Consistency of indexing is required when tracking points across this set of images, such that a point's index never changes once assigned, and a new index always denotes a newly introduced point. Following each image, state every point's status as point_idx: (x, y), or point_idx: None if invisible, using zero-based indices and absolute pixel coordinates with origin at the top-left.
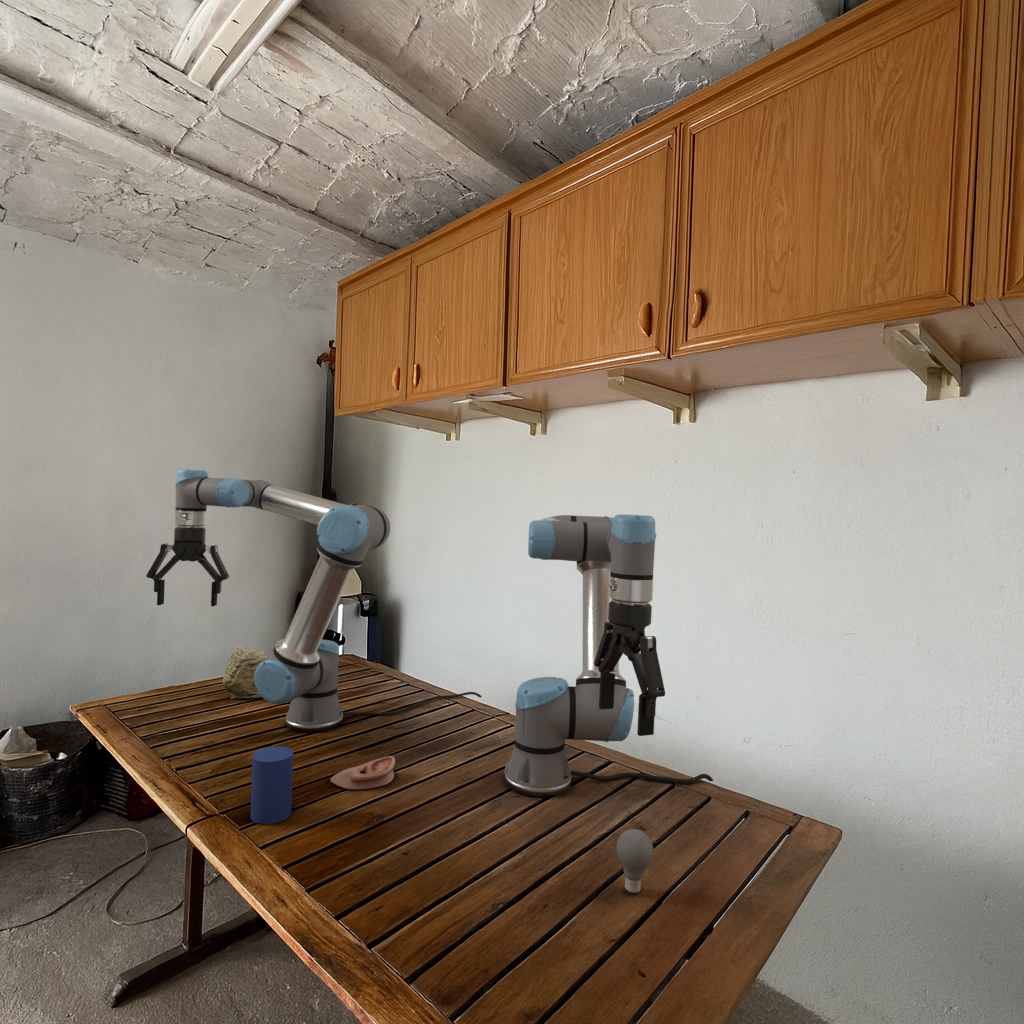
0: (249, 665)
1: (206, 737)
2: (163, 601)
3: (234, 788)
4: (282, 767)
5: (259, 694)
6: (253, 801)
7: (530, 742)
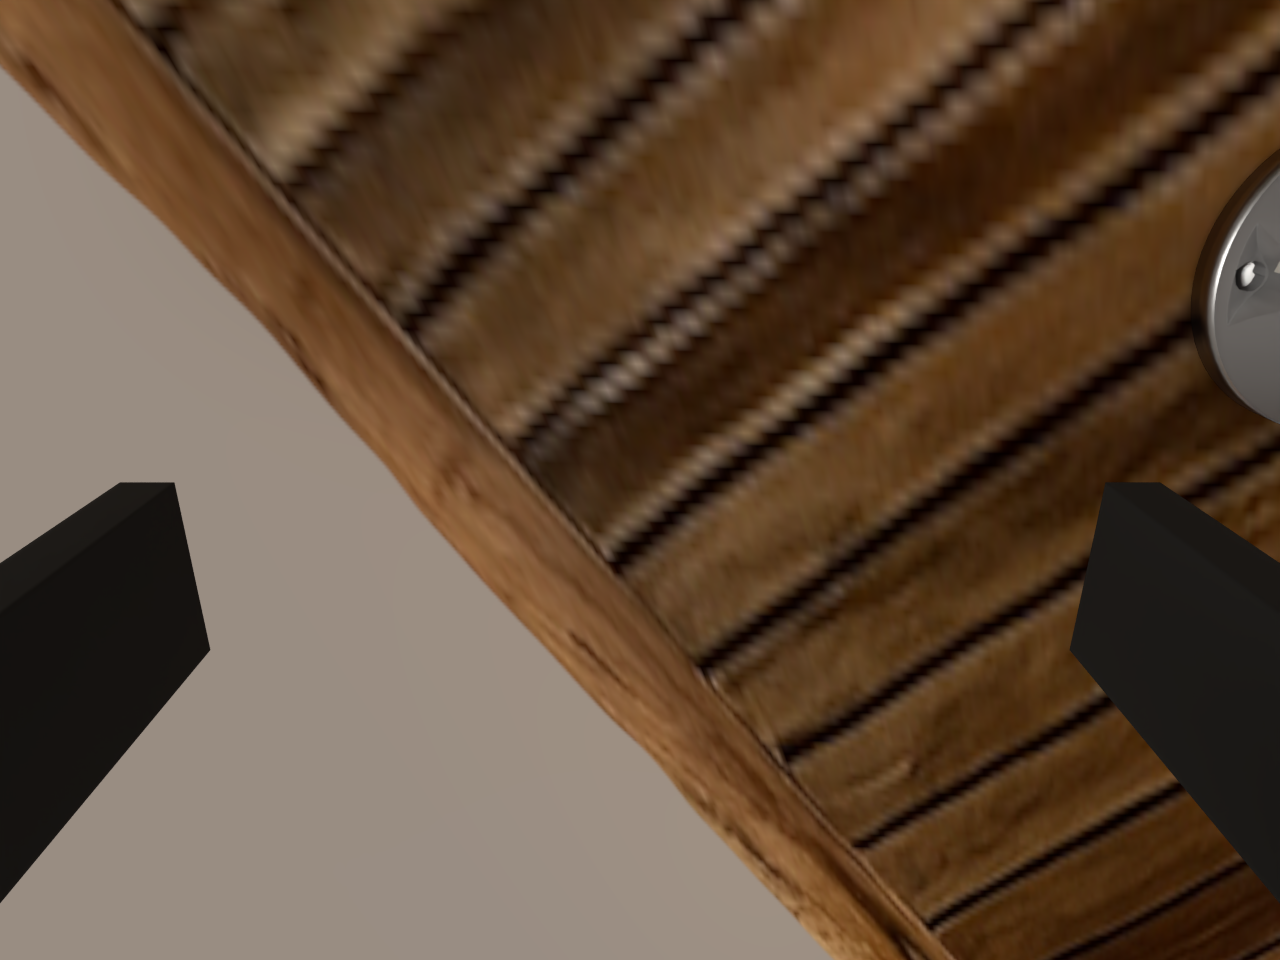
0: None
1: (814, 462)
2: (155, 522)
3: (1006, 882)
4: None
5: None
6: None
7: None
